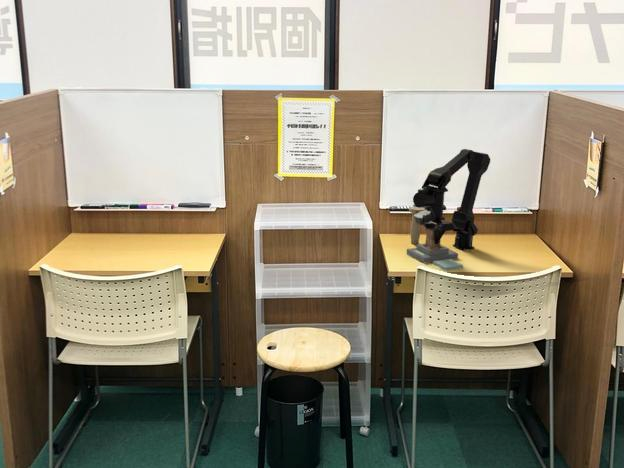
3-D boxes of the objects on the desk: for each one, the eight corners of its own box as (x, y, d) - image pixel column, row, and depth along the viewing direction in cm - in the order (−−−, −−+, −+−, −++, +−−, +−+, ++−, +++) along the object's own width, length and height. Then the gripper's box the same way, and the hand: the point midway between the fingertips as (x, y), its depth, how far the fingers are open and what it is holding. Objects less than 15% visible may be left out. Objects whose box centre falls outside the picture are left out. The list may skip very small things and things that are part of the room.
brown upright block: (433, 244, 268) (435, 227, 266) (439, 247, 264) (441, 229, 262) (425, 245, 266) (426, 228, 264) (431, 248, 263) (432, 231, 261)
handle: (422, 245, 280) (425, 210, 275) (407, 244, 280) (409, 209, 276) (422, 241, 284) (424, 207, 280) (406, 241, 285) (409, 206, 281)
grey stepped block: (439, 249, 275) (440, 240, 274) (457, 258, 264) (458, 248, 263) (406, 253, 268) (407, 244, 267) (423, 263, 258) (424, 253, 257)
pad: (450, 261, 261) (450, 258, 260) (462, 267, 254) (463, 265, 253) (432, 263, 257) (433, 261, 257) (445, 270, 251) (445, 267, 250)
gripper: (405, 200, 265) (402, 238, 270) (432, 211, 249) (429, 251, 253) (428, 197, 270) (426, 235, 274) (457, 208, 254) (453, 248, 258)
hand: (433, 242), depth 265 cm, fingers closed on brown upright block, 4 cm apart
